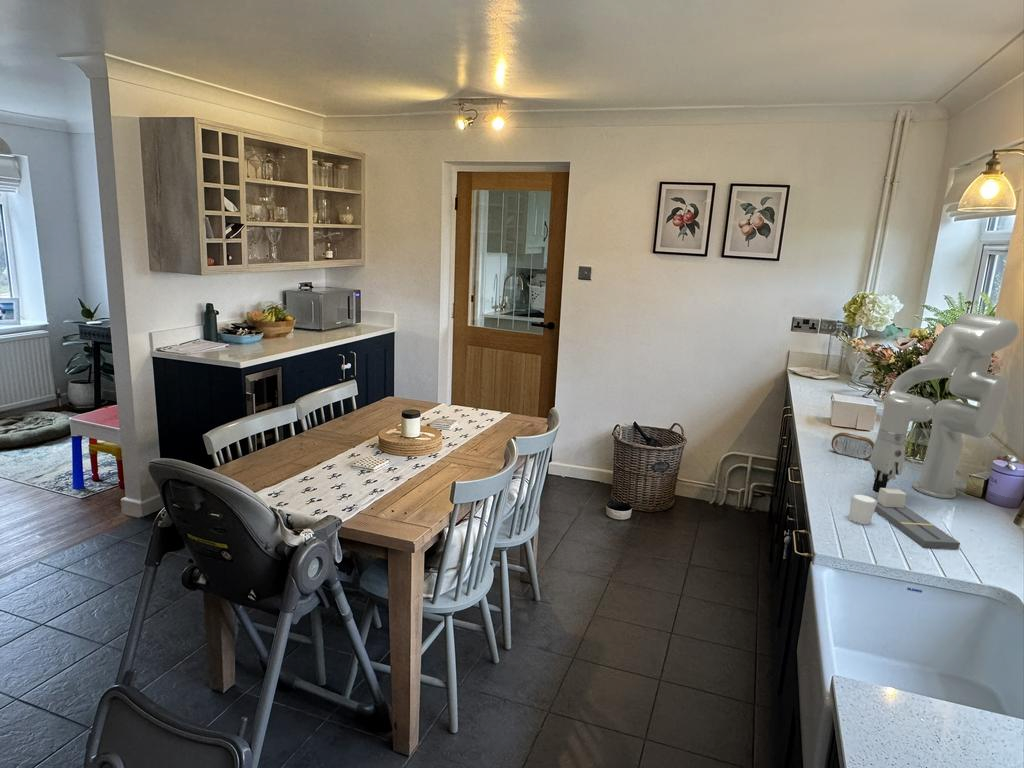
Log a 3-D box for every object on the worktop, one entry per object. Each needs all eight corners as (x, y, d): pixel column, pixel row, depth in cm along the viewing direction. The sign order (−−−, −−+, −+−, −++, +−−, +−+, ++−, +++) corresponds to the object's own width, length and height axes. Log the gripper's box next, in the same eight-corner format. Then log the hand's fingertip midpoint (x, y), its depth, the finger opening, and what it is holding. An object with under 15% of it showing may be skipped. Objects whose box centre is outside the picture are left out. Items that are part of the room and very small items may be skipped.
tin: (872, 460, 257) (877, 439, 255) (872, 462, 254) (876, 441, 252) (830, 450, 264) (834, 429, 262) (828, 452, 262) (833, 431, 260)
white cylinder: (870, 518, 202) (875, 496, 200) (874, 527, 196) (879, 504, 194) (845, 513, 204) (850, 491, 202) (848, 522, 198) (853, 499, 196)
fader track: (865, 504, 212) (866, 498, 212) (895, 506, 213) (897, 500, 212) (923, 547, 185) (925, 540, 185) (958, 549, 186) (960, 542, 185)
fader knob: (876, 501, 210) (880, 487, 209) (895, 502, 210) (898, 488, 209) (884, 506, 206) (887, 492, 205) (903, 507, 206) (906, 494, 205)
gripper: (918, 445, 203) (904, 502, 207) (888, 429, 217) (876, 483, 222) (894, 443, 202) (880, 500, 207) (866, 427, 217) (854, 481, 221)
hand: (878, 491), depth 214 cm, fingers closed
